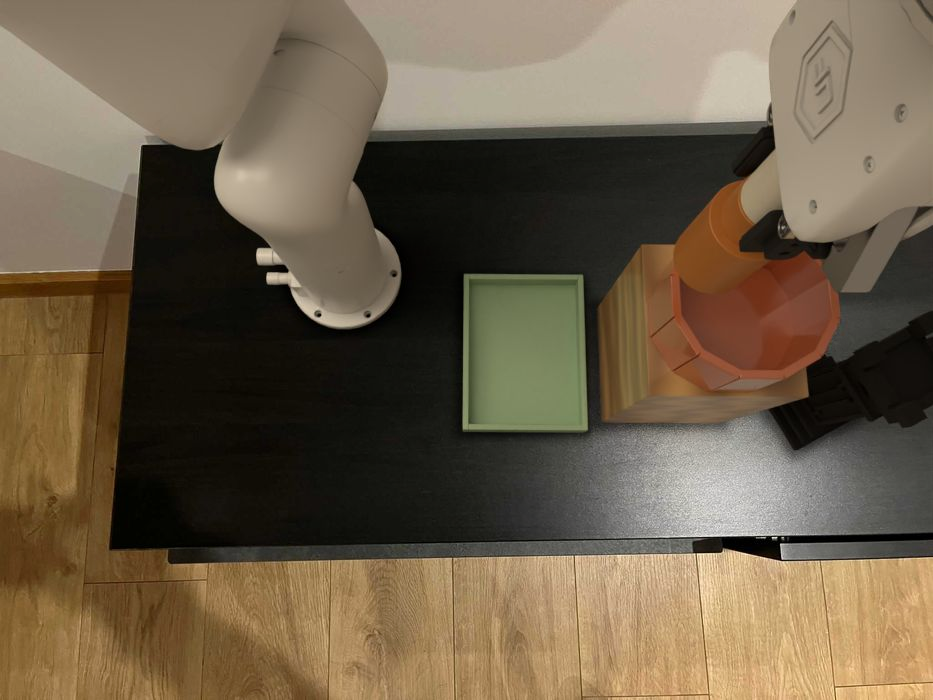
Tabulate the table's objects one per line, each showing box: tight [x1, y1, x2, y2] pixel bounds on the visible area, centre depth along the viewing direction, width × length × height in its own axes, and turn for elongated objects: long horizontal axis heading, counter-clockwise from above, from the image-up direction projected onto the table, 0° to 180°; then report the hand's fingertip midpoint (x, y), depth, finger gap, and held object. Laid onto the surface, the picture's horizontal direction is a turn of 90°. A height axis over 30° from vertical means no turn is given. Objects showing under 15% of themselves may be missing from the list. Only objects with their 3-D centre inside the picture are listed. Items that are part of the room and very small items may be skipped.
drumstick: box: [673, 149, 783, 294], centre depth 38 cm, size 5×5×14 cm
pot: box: [648, 251, 842, 393], centre depth 54 cm, size 12×12×6 cm
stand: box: [596, 244, 809, 424], centre depth 67 cm, size 13×13×20 cm
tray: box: [462, 273, 589, 434], centre depth 76 cm, size 13×17×2 cm
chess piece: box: [768, 309, 933, 452], centre depth 66 cm, size 8×8×20 cm
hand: (764, 207), depth 37 cm, fingers closed on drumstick, 3 cm apart
